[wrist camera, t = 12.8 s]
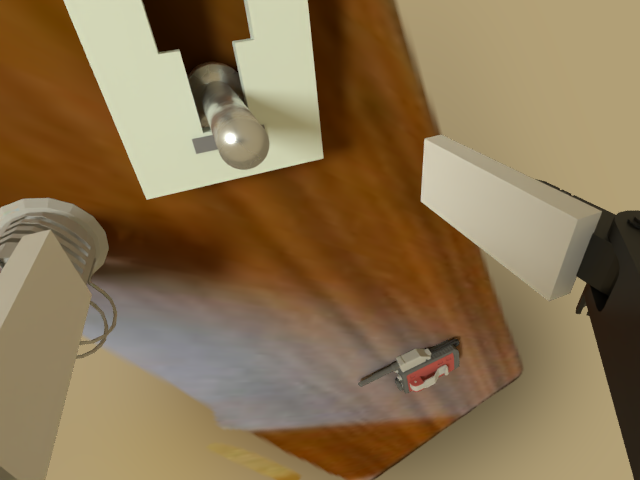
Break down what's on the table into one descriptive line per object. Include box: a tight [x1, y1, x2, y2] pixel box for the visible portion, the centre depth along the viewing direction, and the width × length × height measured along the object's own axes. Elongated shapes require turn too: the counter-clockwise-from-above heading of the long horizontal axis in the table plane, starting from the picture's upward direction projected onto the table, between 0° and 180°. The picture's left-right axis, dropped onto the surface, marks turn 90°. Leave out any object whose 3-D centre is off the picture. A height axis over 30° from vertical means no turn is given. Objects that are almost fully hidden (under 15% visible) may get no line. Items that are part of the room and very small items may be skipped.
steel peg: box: [187, 61, 270, 170], centre depth 27 cm, size 6×6×15 cm
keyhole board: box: [64, 0, 323, 199], centre depth 29 cm, size 20×16×5 cm
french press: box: [0, 198, 117, 359], centre depth 26 cm, size 10×12×25 cm
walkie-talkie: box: [358, 339, 459, 393], centre depth 66 cm, size 9×4×20 cm
